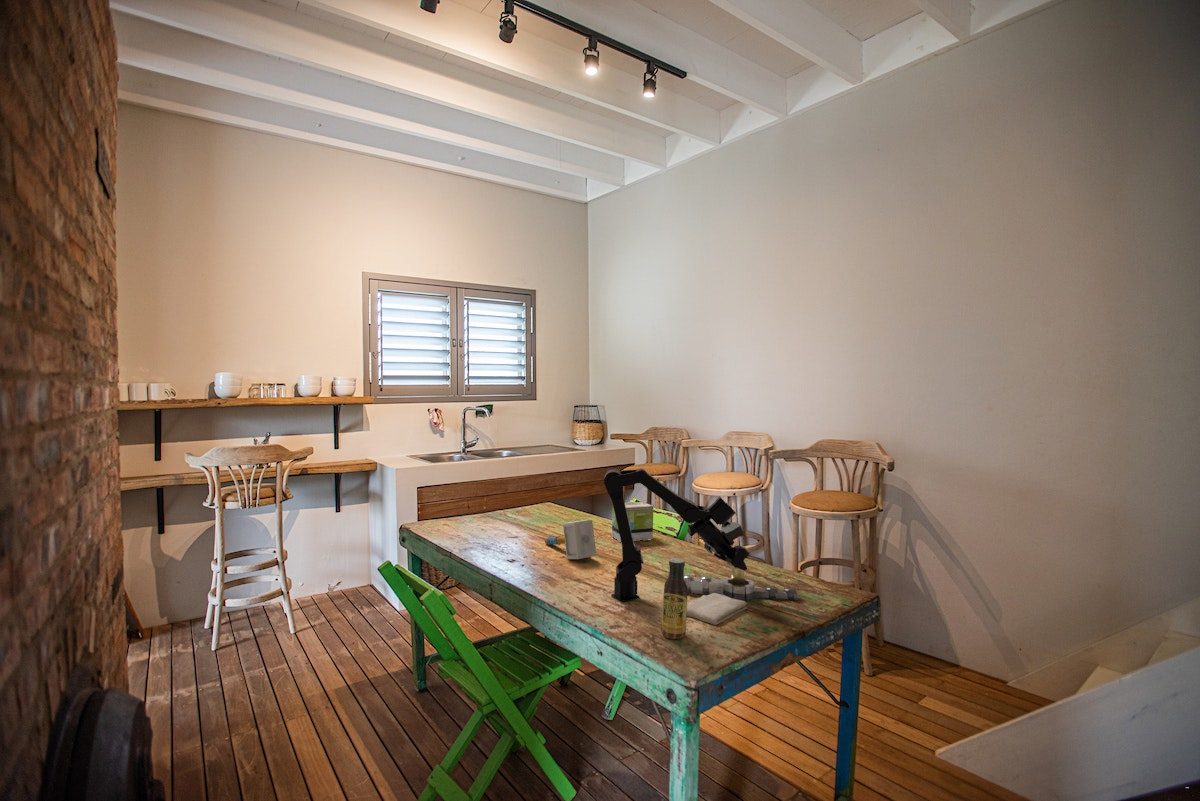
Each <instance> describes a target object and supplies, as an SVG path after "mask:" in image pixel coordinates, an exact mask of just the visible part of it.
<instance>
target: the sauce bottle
mask: <svg viewBox="0 0 1200 801" xmlns="http://www.w3.org/2000/svg"><path fill="white" fill-rule="evenodd" d="M668 560H669V561H668V567H669V571H668V577H667V579H666V581H665V582H664V585H663V586H664V587H663V593H662V594H663V595H662V596H663V598H662V614H661V615H662V616H661V631H662V632H661V634H662V636H663V637H665V638H667V639H669V640H681V639H683V638H684V637H685V636H686V630H687V616H686V615H687V604H688V593H687V585H686V583H685V581H684V575H685V574H684V573H685V572H684V571H685V570H684V569H685V565H686V561H685V560H684V559H682V558H678V557H677V558H675V557H674V558H669V559H668Z"/></svg>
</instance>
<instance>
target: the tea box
mask: <svg viewBox="0 0 1200 801" xmlns="http://www.w3.org/2000/svg"><path fill="white" fill-rule="evenodd" d="M625 506H626V511H627V515H628V520H629V524H630V529H631V533H632V538H633V541H634V542H640V540H643V541H649V540H648V539H652V540H653V537H654V536H653V534H654V506H653V505H651V504H649V503H647V502H645V501H638V502H625ZM611 512H612V513H611V514H612V515H611V516H612V517H611V520H612V521H611V537H612V538H613V537H614V538H615V539H614V538H613V539H614V540H616V539H617V540H618V541H617V540H616V541H617V542H619V541H620V542H621V539H620V534H619V530H618V525H617V521H616V516H615V512H614V507H613V506H612V511H611ZM620 542H619V543H620Z"/></svg>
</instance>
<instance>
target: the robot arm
mask: <svg viewBox="0 0 1200 801" xmlns="http://www.w3.org/2000/svg"><path fill="white" fill-rule="evenodd" d="M603 484H604V486H605V489H606V491H607V494H608V496H609V498H610V500H611V503H612V508H613V507H614V512H615V516H616V521H617V525H618V530H619V534H620V539H621V543H620V544H621V550H622V561H620V563H618V564H617V565H616V567H615V577H614V579H613V580H614V592H613V593H611V597H613V598H614V599H616V600H618V601H620V602H622V603H625V602H629V601H632V600H637V598H638V599H640V597H641V596H640V595H638V580H637V575H638V574H640V573H641V571H642V567H643V566H642V564H644V558H643V557H644V556H643V555H642V550H641V545H640V544H639V545H636V544H635V541H633V538H632V533H631V529H630V524H629V520H628V515H627V511H626V506H625V503H626V502H625V497H624V496H625V495H624V487H629V486H632V485H635V484H641V485H642V486H643V487H645V488H646V489H648V490H649V491H650V492H651V493H653V494H654V495H655V496H657V497H658V498H659V499H661V500H662V501H663V502H665V503H667V504H668V505H669V506H670V507H671V508H672V510H674V512H675V513H676V514H677V515H679V517H680V518H681V519H682V520H683V521H684V522H686V523H687V524H688V525H687V527H688V528H687V534H688V535H689V536H690V537H693V536H694V535H695V534H697V535H698V537H699V538H701V539H702V540H703V544H704V549H705V550H706V551H707V552H708V553H709V554H711V555H712V554H713V556H714V557H715V558H718V559H720V560H722V561H724V562H727V563H726V564H727V565H729V566H730V567H731V566H733V567H735V568H739V569H741V570H744V571H747V570H748V566H747V564H745V562H744V559H745V558H746V559H747V557H748V556H749V554H750V552H749V551H748V550H747V548H746V549H745V548H744V547H745V546H744V547H742V546H743V545H741V544H740V545H738V546H735V547H732V546H734V545H733V544H735V541H734V540H736V539H738V538H740V537H742V536H744V535H745V533H744V530H743V527H742V526H741V524H740V523H737V522H734V521H730V522H729V520H731V518H732V517H734V516H735V515H736V514H737V512H736V511H735V510H734V509H733V508H732V507H731V505H729V503H728V502H726V501H725V500H724V499H723V498H722V497H721V496H718V497H717V498H716V500H715V501H714V502H713V503H712V504H711V505H709V507H707V506H703V505H697V504H696V502H694V501H692V500H690V499H688V498H686V497H684V496H681V495H679V494H677V493H675V492H674V491H673V490H672V489H670V488H669V487H667V486H666V485H664V483H662V482H661V481H659V480H658V479H657V478H655V477H654V476H653V475H651V474H650V473H649V472H647V470H646V469H644V468H637V469H636V468H635V469H626V470H625V469H623V470H618V469H616V468H613V469H612V468H611V469H609V470H607V471H606V473H605V475H604V478H603ZM711 520H712V521H713V522H712V521H711ZM714 523H715V524H716V525H715V524H714ZM718 525H720V526H721V529H719V527H717V526H718Z"/></svg>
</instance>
